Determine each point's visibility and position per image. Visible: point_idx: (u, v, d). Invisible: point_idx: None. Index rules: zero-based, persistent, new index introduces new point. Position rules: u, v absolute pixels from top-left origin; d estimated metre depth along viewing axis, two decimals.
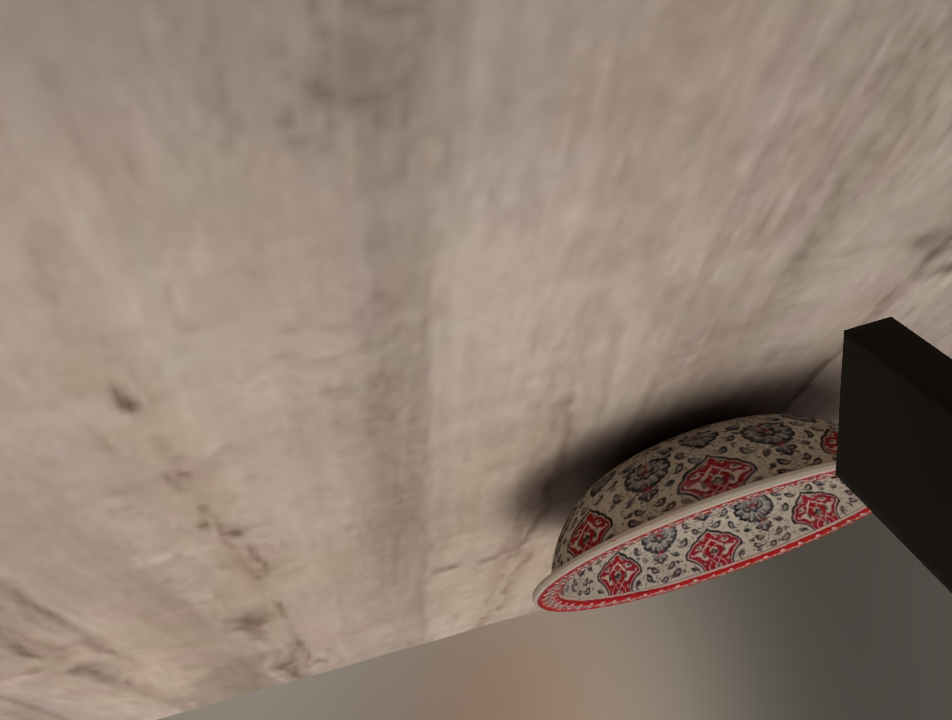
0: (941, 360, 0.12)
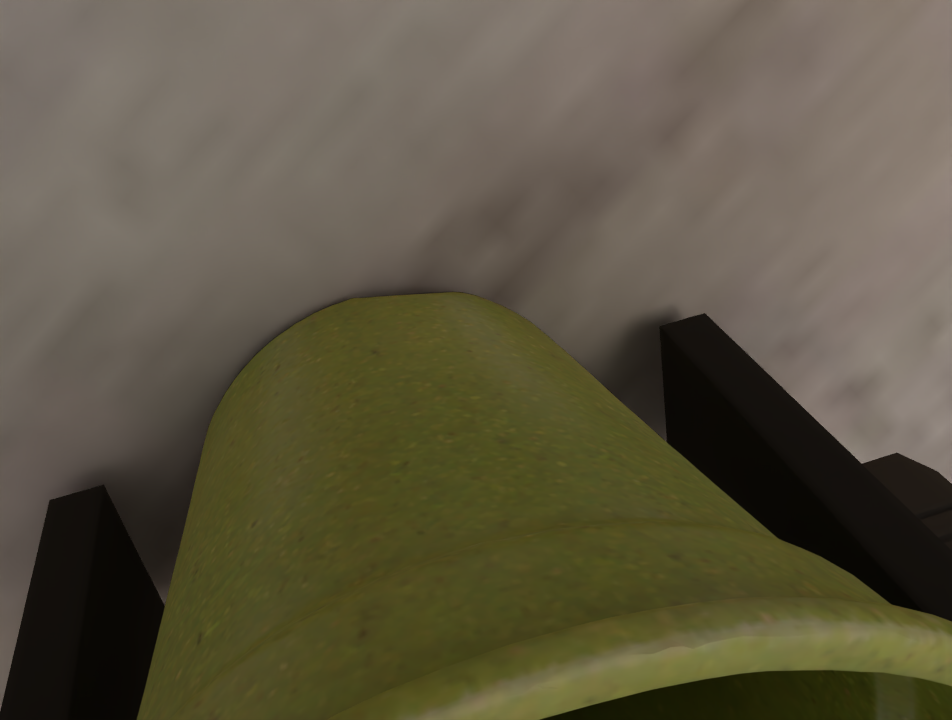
0: (736, 353, 0.13)
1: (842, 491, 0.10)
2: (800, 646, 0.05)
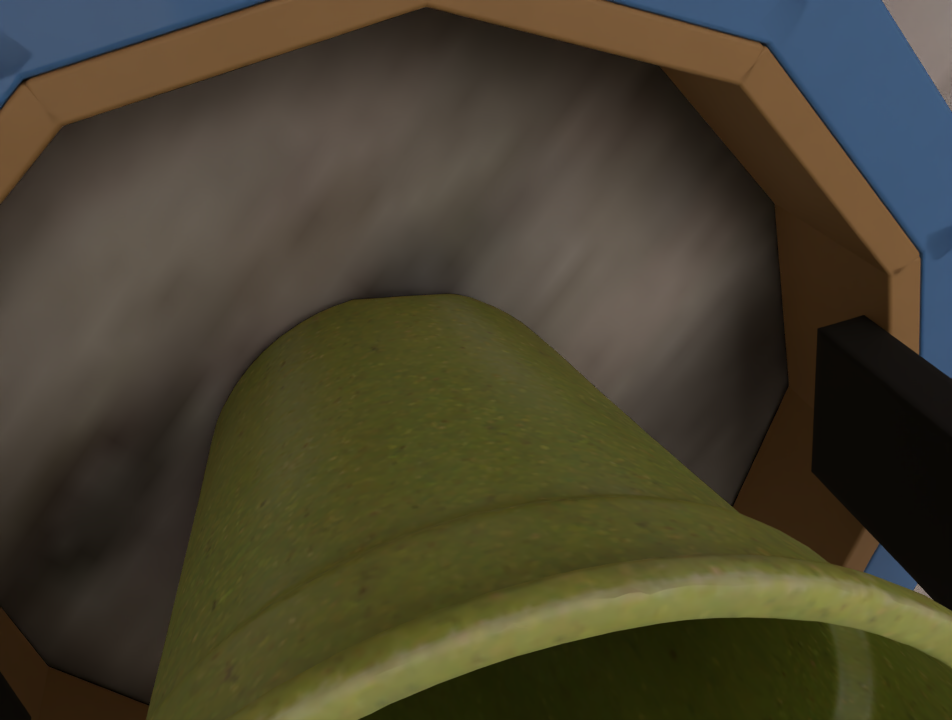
0: (911, 358, 0.12)
1: None
2: (743, 594, 0.06)
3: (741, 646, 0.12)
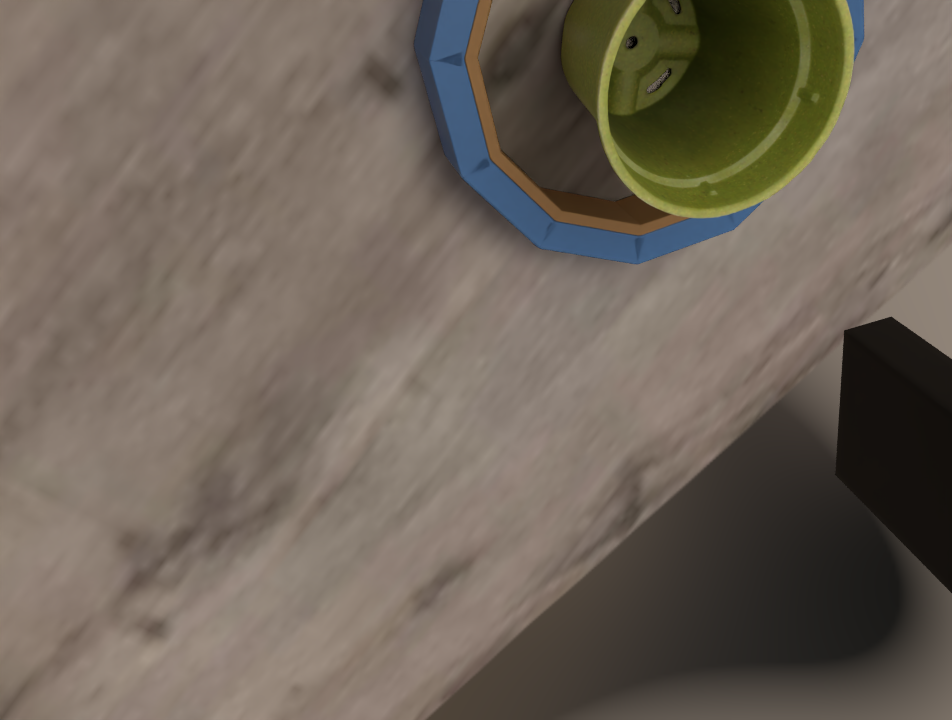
0: (941, 360, 0.12)
1: None
2: None
3: (768, 70, 0.34)
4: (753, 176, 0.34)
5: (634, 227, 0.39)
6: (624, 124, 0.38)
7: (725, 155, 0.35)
